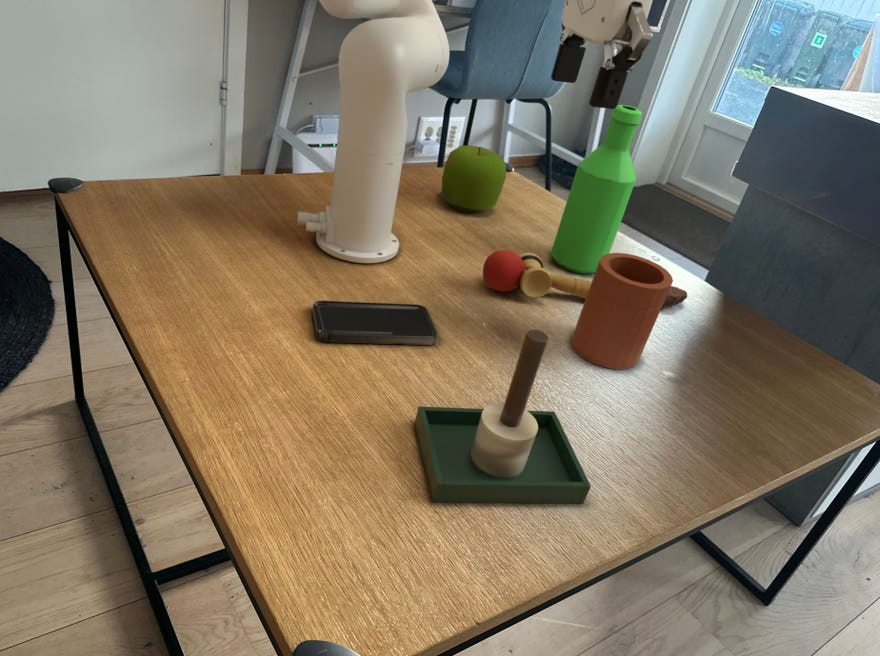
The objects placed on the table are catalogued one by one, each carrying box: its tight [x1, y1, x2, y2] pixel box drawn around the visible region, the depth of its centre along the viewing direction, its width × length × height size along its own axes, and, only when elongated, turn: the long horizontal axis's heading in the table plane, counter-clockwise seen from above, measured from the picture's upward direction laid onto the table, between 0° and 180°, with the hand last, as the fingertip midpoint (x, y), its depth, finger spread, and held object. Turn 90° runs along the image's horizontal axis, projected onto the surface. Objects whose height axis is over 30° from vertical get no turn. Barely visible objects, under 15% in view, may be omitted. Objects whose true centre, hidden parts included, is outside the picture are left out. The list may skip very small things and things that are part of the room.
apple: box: [441, 144, 507, 213], centre depth 125 cm, size 11×11×11 cm
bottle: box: [551, 104, 643, 275], centre depth 108 cm, size 9×9×25 cm
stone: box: [661, 285, 688, 309], centre depth 107 cm, size 7×7×3 cm
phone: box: [311, 300, 438, 346], centre depth 88 cm, size 8×1×15 cm
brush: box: [471, 329, 549, 478], centre depth 67 cm, size 6×6×15 cm
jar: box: [571, 252, 674, 370], centre depth 90 cm, size 9×9×12 cm
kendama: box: [482, 249, 592, 300], centre depth 102 cm, size 8×6×18 cm
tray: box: [414, 406, 592, 504], centre depth 71 cm, size 15×11×2 cm
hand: (581, 93), depth 81 cm, fingers open, 9 cm apart
